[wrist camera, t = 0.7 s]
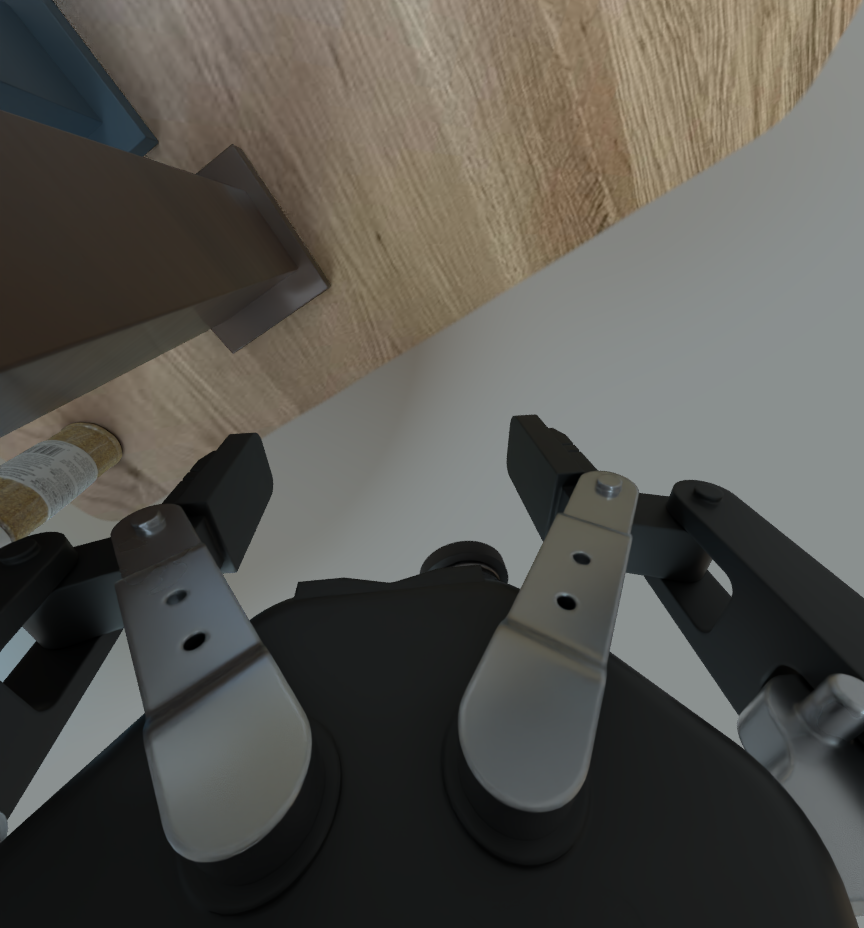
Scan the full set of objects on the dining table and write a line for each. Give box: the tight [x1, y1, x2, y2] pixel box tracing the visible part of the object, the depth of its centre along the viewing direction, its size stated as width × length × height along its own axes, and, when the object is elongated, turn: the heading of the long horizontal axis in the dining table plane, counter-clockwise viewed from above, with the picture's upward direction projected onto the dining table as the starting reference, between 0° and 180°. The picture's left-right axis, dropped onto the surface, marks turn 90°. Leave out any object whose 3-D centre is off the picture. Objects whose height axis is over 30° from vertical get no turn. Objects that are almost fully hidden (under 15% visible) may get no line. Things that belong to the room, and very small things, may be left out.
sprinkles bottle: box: [0, 422, 122, 548], centre depth 26 cm, size 5×5×14 cm
